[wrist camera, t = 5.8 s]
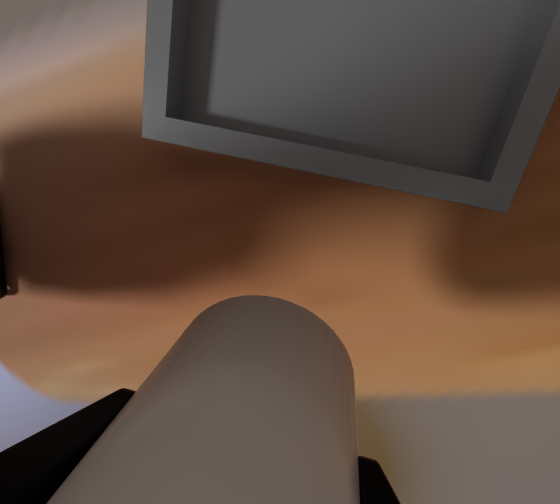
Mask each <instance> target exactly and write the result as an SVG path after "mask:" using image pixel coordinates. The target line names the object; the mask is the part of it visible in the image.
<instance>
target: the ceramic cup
mask: <svg viewBox="0 0 560 504" xmlns="http://www.w3.org/2000/svg"><path fill="white" fill-rule="evenodd" d="M357 450H358V448H357V427H356V404H355V382H354V371H353V367H352V363H351V359H350V357H349V355H348V352H347V350H346V348H345V346H344V345H343V343H342V341H341V340H340V338H339V337H338V336H337V335H336V333H335V332H334V331H333V330H332V329H331V328H330V327H329V326H328V325H327V324H326V323H325V322H324V321H323V320H322V319H320V318H319V317H318V316H316V315H315V314H314V313H312V312H310V311H308V310H307V309H305V308H303V307H301V306H299V305H297V304H294V303H292V302H289V301H286V300H283V299H280V298H275V297H269V296H259V295H249V296H239V297H233V298H229V299H226V300H223V301H220V302H218V303H216V304H214V305H212V306H210V307H208V308H207V309H206V310H204V311H203V312H201V313H200V314H199V315H198V316H197V317H196V318H195V319H194V320H193V321H192V322H191V324H190V325H189V326H188V327H187V329H186V330H185V331H184V332H183V334H182V335H181V336H180V337H179V339H178V340H177V341H176V342H175V344H174V345H173V346H172V347H171V349H170V350H169V351H168V352H167V354H166V355H165V356H164V357H163V359H162V360H161V361H160V362H159V364H158V365H157V366H156V367H155V369H154V370H153V371H152V372H151V374H150V375H149V376H148V377H147V379H146V380H145V381H144V382H143V384H142V385H141V386H140V387H139V389H138V390H137V391H136V392H135V394H134V395H133V396H132V397H131V399H130V400H129V401H128V402H127V404H126V405H125V406H124V407H123V409H122V410H121V411H120V412H119V414H118V415H117V416H116V417H115V419H114V420H113V421H112V422H111V424H110V425H109V426H108V427H107V429H106V430H105V431H104V432H103V434H102V435H101V436H100V437H99V439H98V440H97V441H96V442H95V444H94V445H93V446H92V447H91V449H90V450H89V451H88V452H87V454H86V455H85V456H84V457H83V459H82V460H81V461H80V462H79V464H78V465H77V466H76V467H75V469H74V470H73V471H72V472H71V473H70V475H69V476H68V477H67V478H66V480H65V481H64V482H63V483H62V485H61V486H60V487H59V488H58V490H57V491H56V492H55V493H54V495H53V496H52V497H51V498H50V500H49V501H48V502H47V503H46V504H360V493H359V471H358V451H357Z"/></svg>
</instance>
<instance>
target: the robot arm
mask: <svg viewBox="0 0 560 504" xmlns="http://www.w3.org/2000/svg"><path fill="white" fill-rule="evenodd" d="M5 296H6V282H5V272H4V262H3V252H2V242H1V232H0V299H1V298H3V297H5ZM135 392H136V391H133V390H129V389H125V388H122V389H119V390H117V391H115V392H113V393H112V394H110V395H108V396H106V397H104V398H102V399H100V400H98V401H96V402H95V403H93V404H91V405H89V406H87V407H85V408H83V409H81V410H79V411H78V412H76V413H74V414H72V415H70V416H68V417H67V418H64V419H62V420H60V421H59V422H57V423H55V424H53V425H51V426H49V427H47V428H46V429H43V430H42V431H40V432H38V433H36V434H34V435H32V436H30V437H28V438H26V439H25V440H23V441H21V442H19V443H17V444H15V445H13V446H11V447H9V448H7V449H6V450H4V451H2V452H0V504H46V503H47V502H48V501H49V500H50V498H51V497H52V496H53V495H54V493H55V492H56V491H57V490H58V488H59V487H60V486H61V485H62V483H63V482H64V481H65V480H66V478H67V477H68V476H69V475H70V473H71V472H72V471H73V470H74V469H75V467H76V466H77V465H78V464H79V462H80V461H81V460H82V459H83V457H84V456H85V455H86V454H87V452H88V451H89V450H90V449H91V447H92V446H93V445H94V444H95V442H96V441H97V440H98V439H99V437H100V436H101V435H102V434H103V432H104V431H105V430H106V429H107V427H108V426H109V425H110V424H111V422H112V421H113V420H114V419H115V417H116V416H117V415H118V414H119V412H120V411H121V410H122V409H123V407H124V406H125V405H126V404H127V402H128V401H129V400H130V399H131V397H132V396H133V395H134V394H135ZM358 471H359V493H360V504H400V502H399V500H398V498H397V496H396V494H395V492H394V491H393V489H392V487H391V485H390V483H389V481H388V479H387V477H386V475H385V474H384V472H383V470H382V468H381V466H380V464H379V463H378V462H377V461H376V460H374V459H371V458H367V457H363V456H359V457H358Z"/></svg>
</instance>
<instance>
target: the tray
mask: <svg viewBox="0 0 560 504" xmlns="http://www.w3.org/2000/svg"><path fill="white" fill-rule="evenodd" d="M559 88H560V0H147V22H146V46H145V69H144V93H143V116H142V138H147V139H152V140H157V141H162V142H166V143H171V144H176V145H181V146H186V147H190V148H195V149H200V150H205V151H210V152H215V153H219V154H224V155H229V156H234V157H239V158H243V159H248V160H253V161H258V162H263V163H267V164H272V165H277V166H282V167H287V168H292V169H296V170H301V171H306V172H311V173H316V174H320V175H325V176H330V177H335V178H340V179H344V180H349V181H354V182H359V183H364V184H369V185H373V186H378V187H383V188H388V189H393V190H397V191H402V192H407V193H412V194H417V195H421V196H426V197H431V198H436V199H441V200H446V201H450V202H455V203H460V204H465V205H470V206H474V207H479V208H484V209H489V210H494V211H498V212H503V213H507V212H508V210H509V207H510V205H511V203H512V200H513V198H514V195H515V193H516V191H517V188H518V186H519V183H520V181H521V179H522V176H523V174H524V172H525V169H526V167H527V164H528V162H529V160H530V157H531V155H532V152H533V150H534V148H535V145H536V143H537V140H538V138H539V136H540V133H541V131H542V129H543V126H544V124H545V121H546V119H547V117H548V114H549V112H550V109H551V107H552V105H553V102H554V100H555V98H556V95H557V93H558V90H559Z"/></svg>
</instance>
